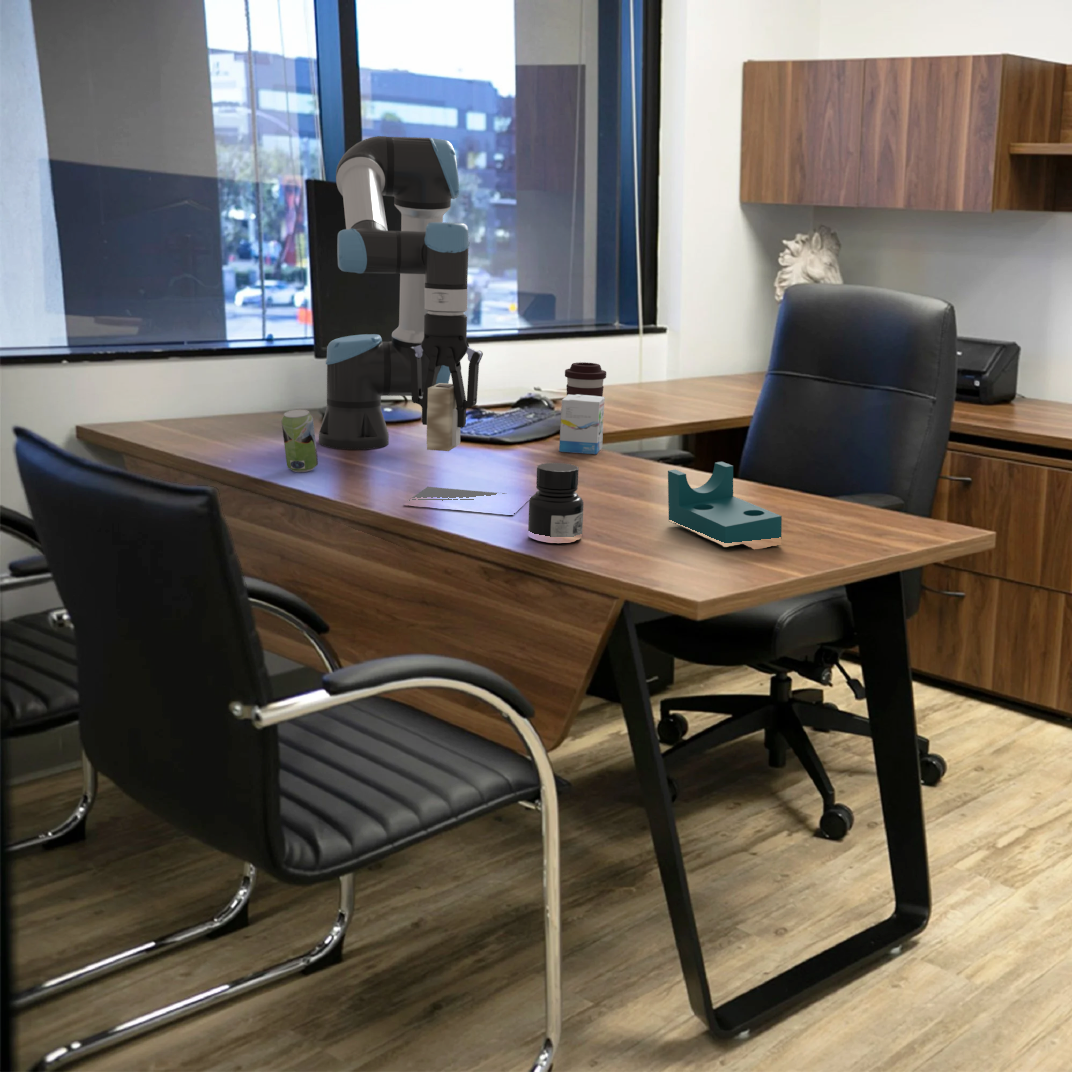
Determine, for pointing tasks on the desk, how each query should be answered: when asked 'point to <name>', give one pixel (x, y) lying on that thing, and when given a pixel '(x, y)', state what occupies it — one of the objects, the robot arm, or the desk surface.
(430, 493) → the felt pad
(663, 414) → the desk surface
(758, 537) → the teal l-shaped bracket
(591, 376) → the coffee cup
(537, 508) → the ink bottle
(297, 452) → the beverage can
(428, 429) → the birch block
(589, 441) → the ink box
